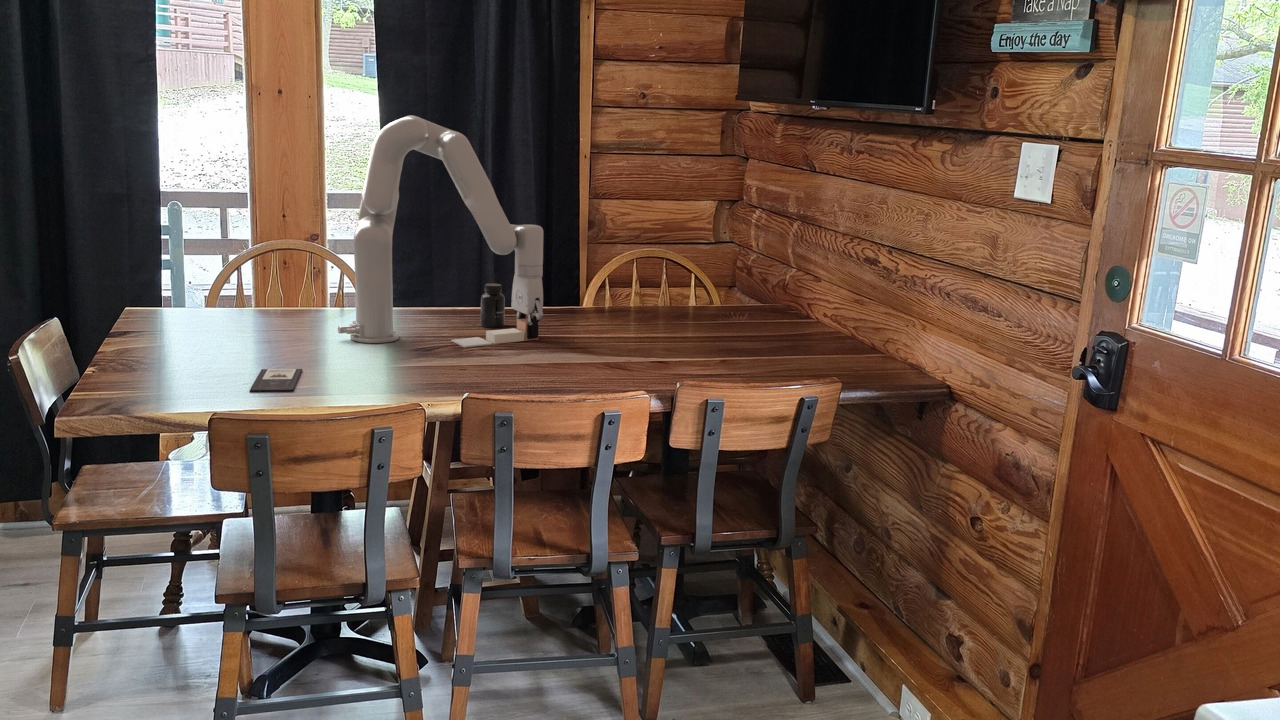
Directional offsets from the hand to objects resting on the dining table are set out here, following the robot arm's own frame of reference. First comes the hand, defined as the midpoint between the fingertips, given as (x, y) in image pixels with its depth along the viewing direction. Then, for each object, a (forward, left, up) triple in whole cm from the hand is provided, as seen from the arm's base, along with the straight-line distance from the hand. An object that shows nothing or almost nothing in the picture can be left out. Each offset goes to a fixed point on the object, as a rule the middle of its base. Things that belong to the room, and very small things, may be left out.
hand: (527, 335), depth 289 cm
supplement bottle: (-1, +18, -1) cm, 18 cm away
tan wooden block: (0, 0, -1) cm, 1 cm away
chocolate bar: (-72, -15, -1) cm, 74 cm away
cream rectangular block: (-7, 0, -1) cm, 7 cm away
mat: (-16, +1, -1) cm, 16 cm away
